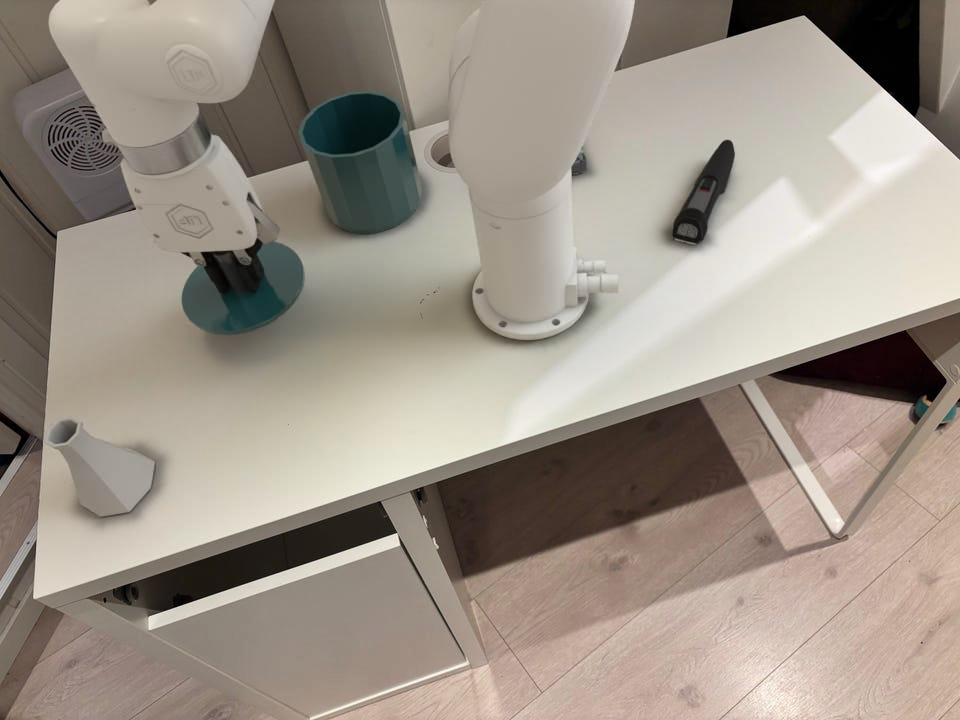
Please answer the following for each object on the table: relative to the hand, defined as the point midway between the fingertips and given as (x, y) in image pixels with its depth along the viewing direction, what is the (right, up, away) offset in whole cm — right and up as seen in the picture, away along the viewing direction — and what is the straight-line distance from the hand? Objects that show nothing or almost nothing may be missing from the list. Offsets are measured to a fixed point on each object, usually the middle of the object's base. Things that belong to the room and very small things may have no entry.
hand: (241, 282), depth 79 cm
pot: (+12, +12, +15) cm, 23 cm away
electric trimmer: (+51, +10, +8) cm, 53 cm away
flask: (-10, -21, -6) cm, 24 cm away
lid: (0, -1, +1) cm, 1 cm away
